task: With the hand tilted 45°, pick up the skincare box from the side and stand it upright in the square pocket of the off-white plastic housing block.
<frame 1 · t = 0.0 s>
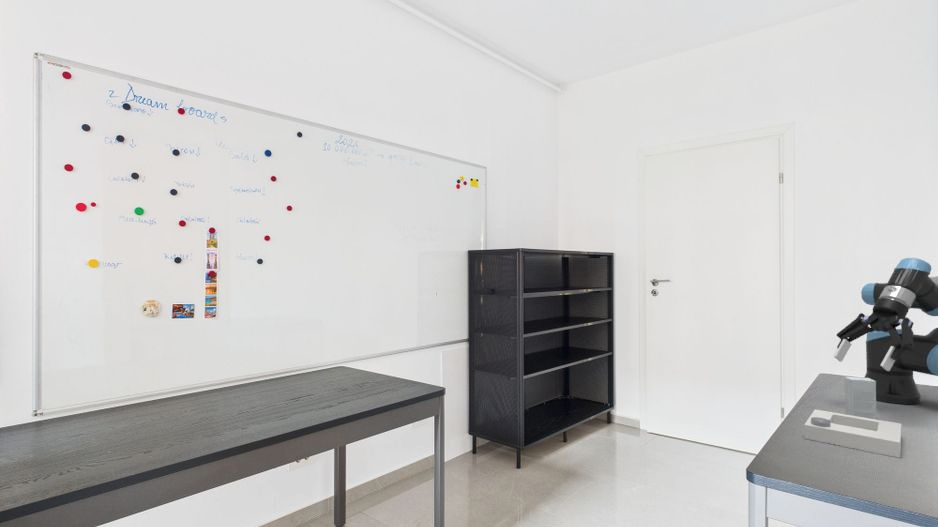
hand: (859, 363, 139), 15 cm above the table, tool tilted 35°, fingers open, 13 cm apart
housing: (853, 436, 122), on the table
skincare box: (860, 421, 135), on the table
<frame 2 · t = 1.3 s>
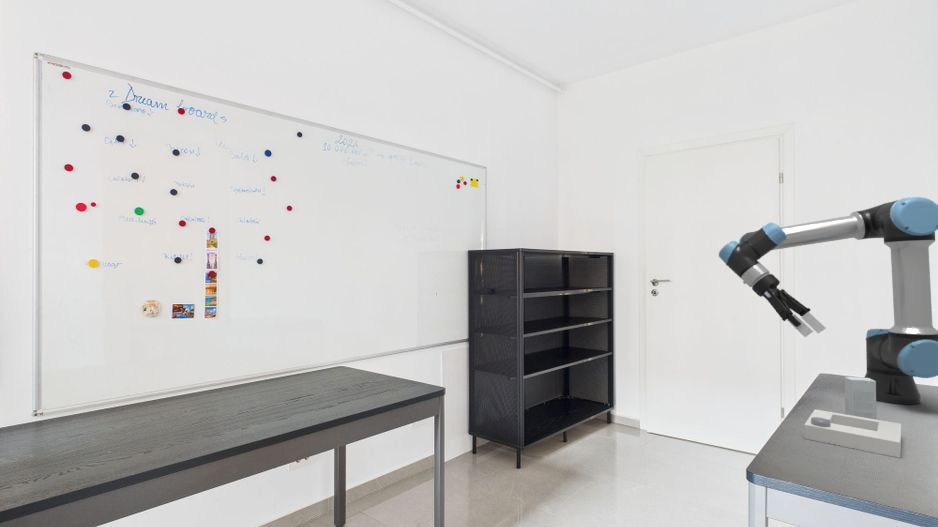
hand: (816, 332, 143), 24 cm above the table, tool tilted 45°, fingers open, 13 cm apart
nothing on the table moved.
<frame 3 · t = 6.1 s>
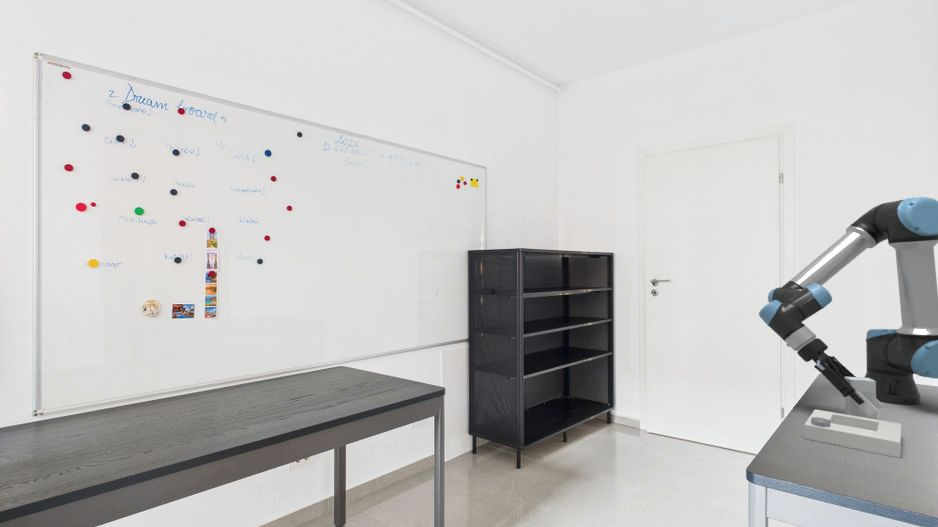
hand: (876, 410, 132), 4 cm above the table, tool tilted 45°, fingers closed on skincare box, 6 cm apart
skincare box: (860, 421, 135), on the table, touching gripper
when the fingers open (5 cm above the table, at t = 12.1 s): skincare box drops 1 cm, resting in housing.
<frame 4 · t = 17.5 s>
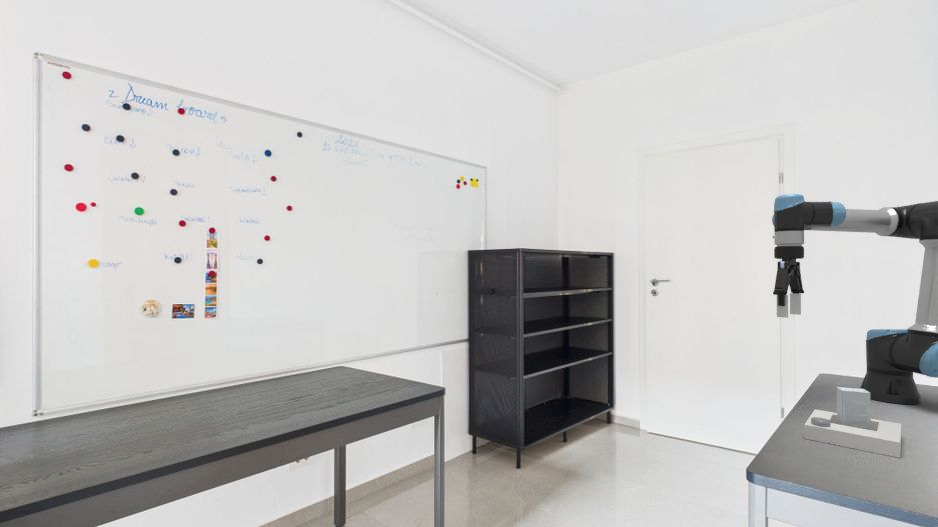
hand: (789, 315, 144), 29 cm above the table, tool pointing down, fingers open, 13 cm apart
skincare box: (853, 436, 122), resting in housing
at the end: skincare box 0.1 cm off-centre on the housing, point 0.0 cm above the housing's base; skincare box tilted 0°; the gripper is holding nothing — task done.
